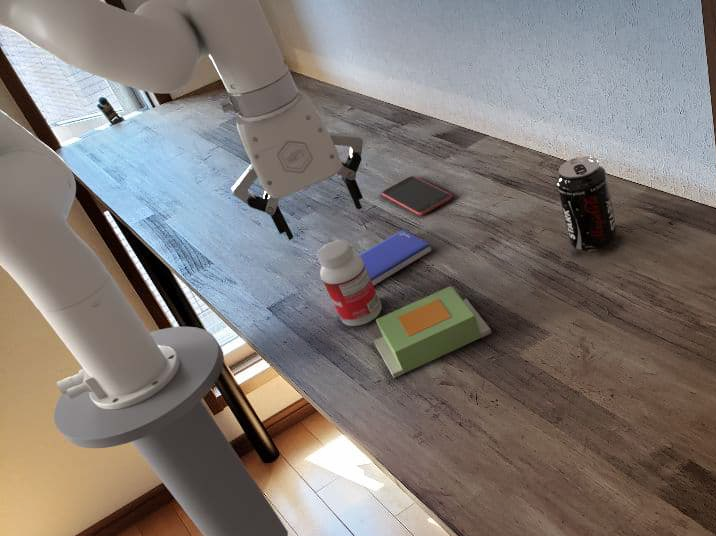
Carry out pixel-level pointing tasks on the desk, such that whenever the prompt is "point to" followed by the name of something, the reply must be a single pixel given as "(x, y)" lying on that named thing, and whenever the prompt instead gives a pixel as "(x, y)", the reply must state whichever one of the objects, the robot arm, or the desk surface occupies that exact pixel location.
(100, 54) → the robot arm
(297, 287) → the desk surface
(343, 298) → the pill bottle
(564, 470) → the desk surface
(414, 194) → the smartphone
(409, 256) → the hard drive
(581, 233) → the beverage can
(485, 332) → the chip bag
